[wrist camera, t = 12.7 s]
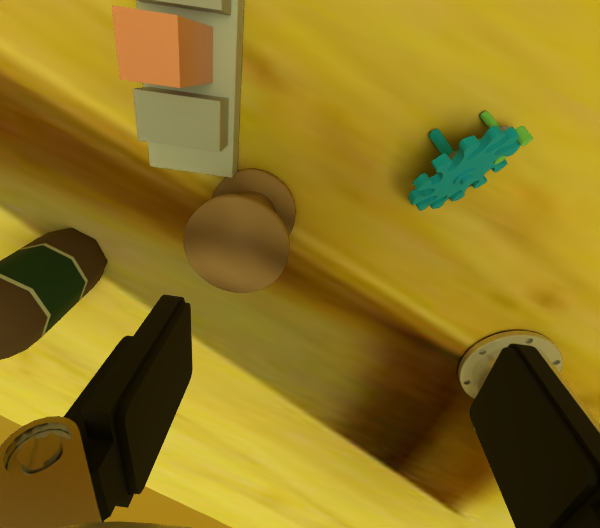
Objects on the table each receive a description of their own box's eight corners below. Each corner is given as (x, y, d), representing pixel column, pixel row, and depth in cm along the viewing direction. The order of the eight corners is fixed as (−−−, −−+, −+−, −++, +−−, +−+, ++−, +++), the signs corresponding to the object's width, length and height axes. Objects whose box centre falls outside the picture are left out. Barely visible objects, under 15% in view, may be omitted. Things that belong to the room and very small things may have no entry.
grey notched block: (237, 171, 37) (224, 187, 32) (160, 160, 37) (135, 174, 32) (245, -25, 29) (229, -43, 24) (146, -40, 29) (111, -61, 24)
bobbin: (290, 252, 41) (282, 298, 33) (213, 241, 41) (185, 285, 33) (300, 175, 36) (293, 207, 28) (213, 162, 36) (181, 191, 28)
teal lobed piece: (414, 227, 37) (416, 183, 28) (388, 183, 39) (381, 127, 30) (518, 175, 35) (557, 109, 26) (485, 131, 37) (509, 56, 28)
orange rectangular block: (213, 27, 28) (177, 15, 22) (212, 82, 30) (180, 88, 24) (163, 19, 28) (111, 5, 21) (166, 75, 30) (119, 79, 23)
